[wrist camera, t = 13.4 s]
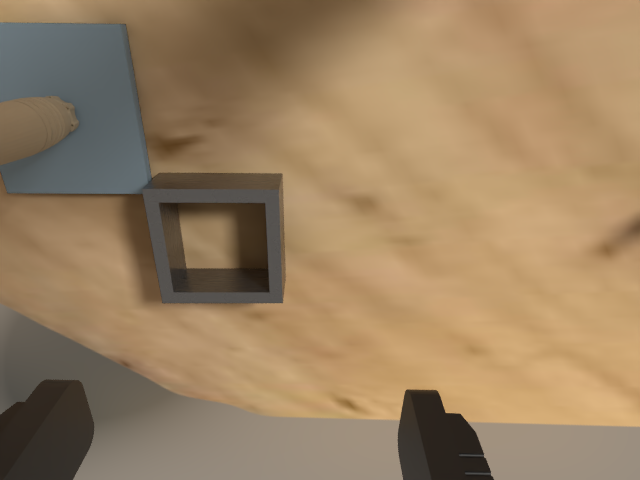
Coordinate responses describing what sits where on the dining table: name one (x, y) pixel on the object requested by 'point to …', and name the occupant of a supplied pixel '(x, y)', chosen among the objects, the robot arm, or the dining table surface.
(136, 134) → the rubber mat
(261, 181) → the socket block
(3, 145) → the handle
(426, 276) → the dining table surface
